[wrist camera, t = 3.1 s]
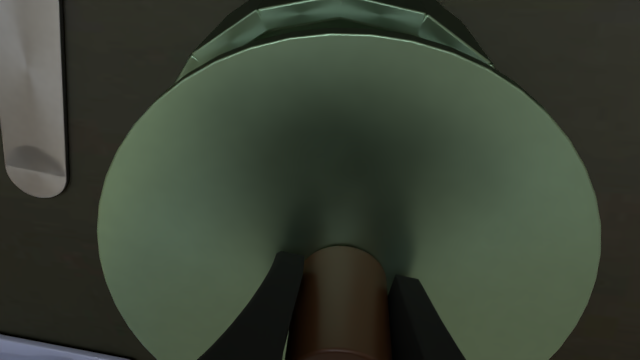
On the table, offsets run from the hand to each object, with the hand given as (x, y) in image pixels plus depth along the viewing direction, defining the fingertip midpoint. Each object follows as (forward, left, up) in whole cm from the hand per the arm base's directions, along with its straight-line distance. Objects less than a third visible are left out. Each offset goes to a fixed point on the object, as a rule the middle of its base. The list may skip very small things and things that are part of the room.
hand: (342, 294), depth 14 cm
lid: (0, 0, -1) cm, 1 cm away
